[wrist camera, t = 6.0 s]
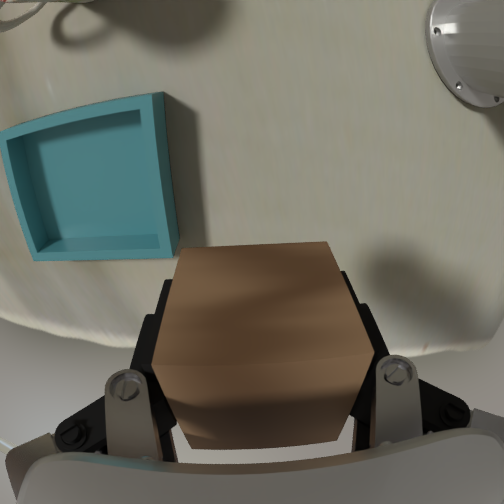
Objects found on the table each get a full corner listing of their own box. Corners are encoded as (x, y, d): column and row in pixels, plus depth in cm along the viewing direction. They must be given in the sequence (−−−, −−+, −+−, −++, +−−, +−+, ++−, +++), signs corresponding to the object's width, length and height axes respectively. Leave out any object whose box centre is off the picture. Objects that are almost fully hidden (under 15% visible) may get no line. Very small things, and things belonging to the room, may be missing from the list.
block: (326, 241, 11) (374, 352, 6) (314, 339, 13) (336, 440, 9) (181, 248, 11) (151, 365, 6) (200, 345, 13) (191, 448, 9)
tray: (163, 91, 23) (151, 94, 20) (179, 238, 30) (172, 257, 27) (18, 124, 22) (-3, 132, 19) (48, 244, 30) (33, 261, 27)
